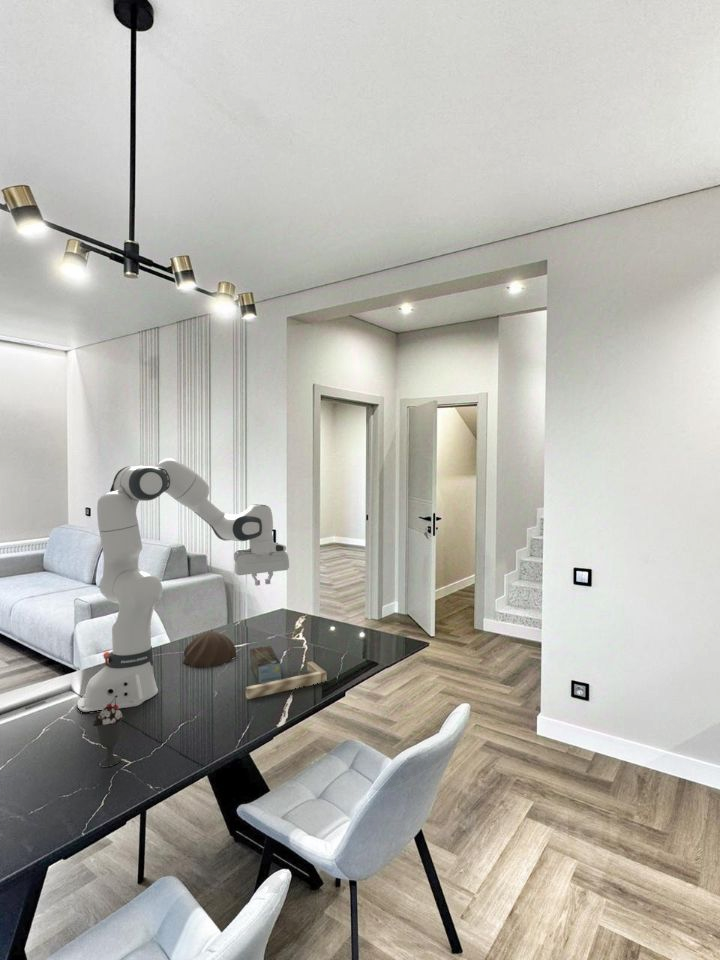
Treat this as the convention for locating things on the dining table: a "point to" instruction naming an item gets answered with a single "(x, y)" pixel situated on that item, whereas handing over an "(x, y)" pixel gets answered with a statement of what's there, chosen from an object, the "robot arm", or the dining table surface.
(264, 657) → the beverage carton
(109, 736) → the sundae
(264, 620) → the dining table surface
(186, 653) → the decorative dome
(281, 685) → the oak fence
